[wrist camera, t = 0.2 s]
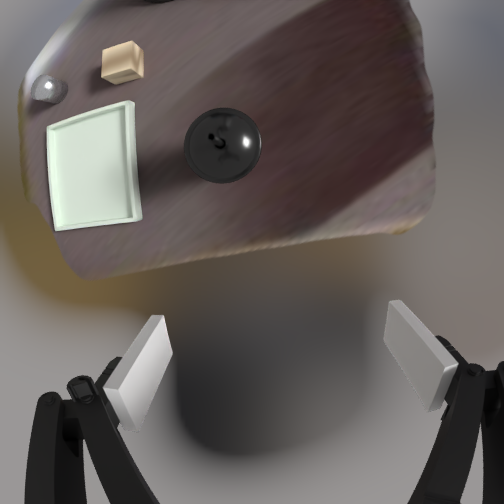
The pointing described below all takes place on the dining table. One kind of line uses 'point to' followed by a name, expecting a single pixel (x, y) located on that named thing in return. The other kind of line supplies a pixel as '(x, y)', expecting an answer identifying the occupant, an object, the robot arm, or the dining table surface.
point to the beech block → (122, 63)
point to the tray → (94, 168)
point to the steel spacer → (49, 89)
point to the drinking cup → (222, 145)
